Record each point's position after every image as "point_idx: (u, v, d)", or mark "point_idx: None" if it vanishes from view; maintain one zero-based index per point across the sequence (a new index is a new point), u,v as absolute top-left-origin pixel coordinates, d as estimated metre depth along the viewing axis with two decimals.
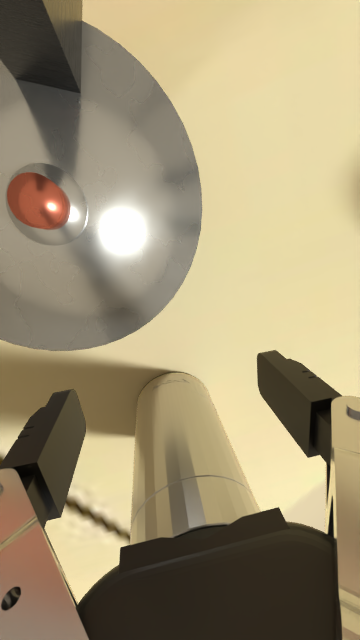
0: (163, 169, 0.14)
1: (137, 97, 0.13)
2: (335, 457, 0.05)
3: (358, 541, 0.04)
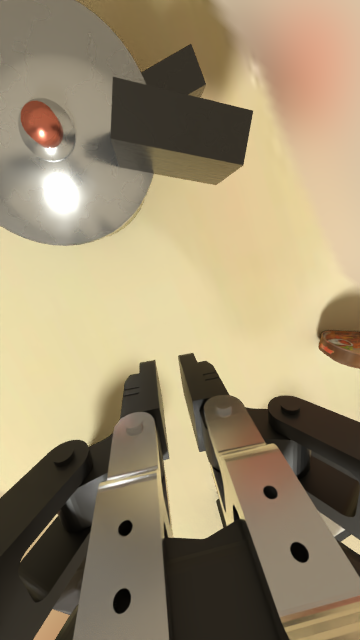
0: (85, 218, 0.22)
1: (122, 203, 0.22)
2: (227, 466, 0.05)
3: (273, 546, 0.04)
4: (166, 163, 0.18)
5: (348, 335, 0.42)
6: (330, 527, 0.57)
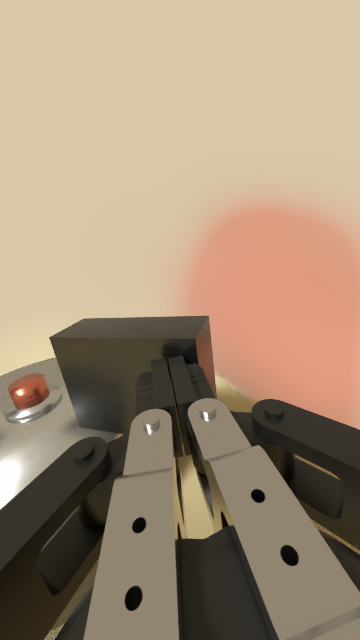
0: None
1: None
2: (214, 471, 0.05)
3: (264, 552, 0.04)
4: (116, 384, 0.14)
5: None
6: None
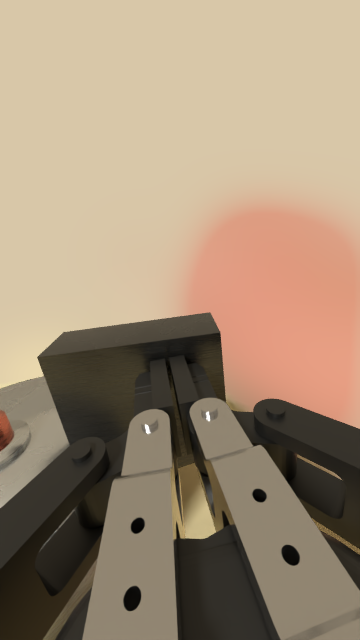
0: None
1: None
2: (215, 471, 0.05)
3: (265, 551, 0.04)
4: (127, 397, 0.12)
5: None
6: None
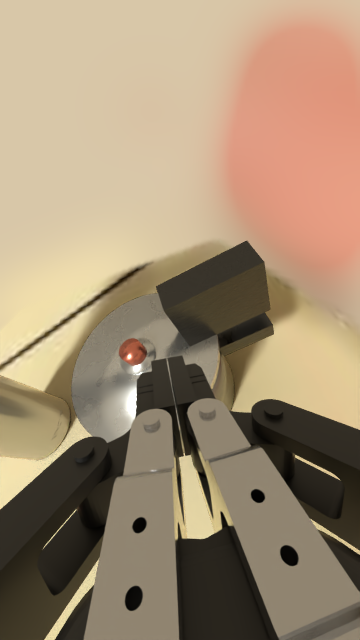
0: None
1: (202, 369, 0.23)
2: (213, 472, 0.05)
3: (263, 552, 0.04)
4: (214, 310, 0.21)
5: None
6: None
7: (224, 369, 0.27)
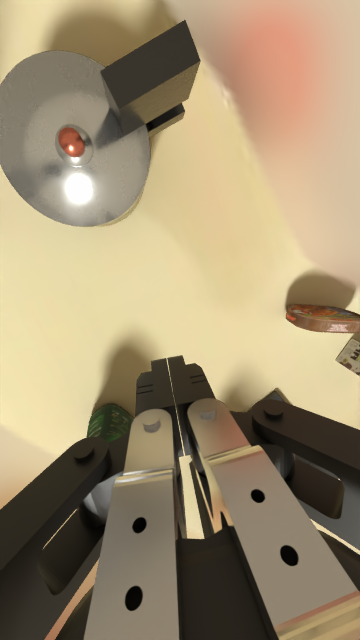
0: (124, 186, 0.30)
1: (139, 159, 0.29)
2: (213, 472, 0.05)
3: (263, 552, 0.04)
4: (152, 104, 0.25)
5: (311, 308, 0.50)
6: None
7: None
